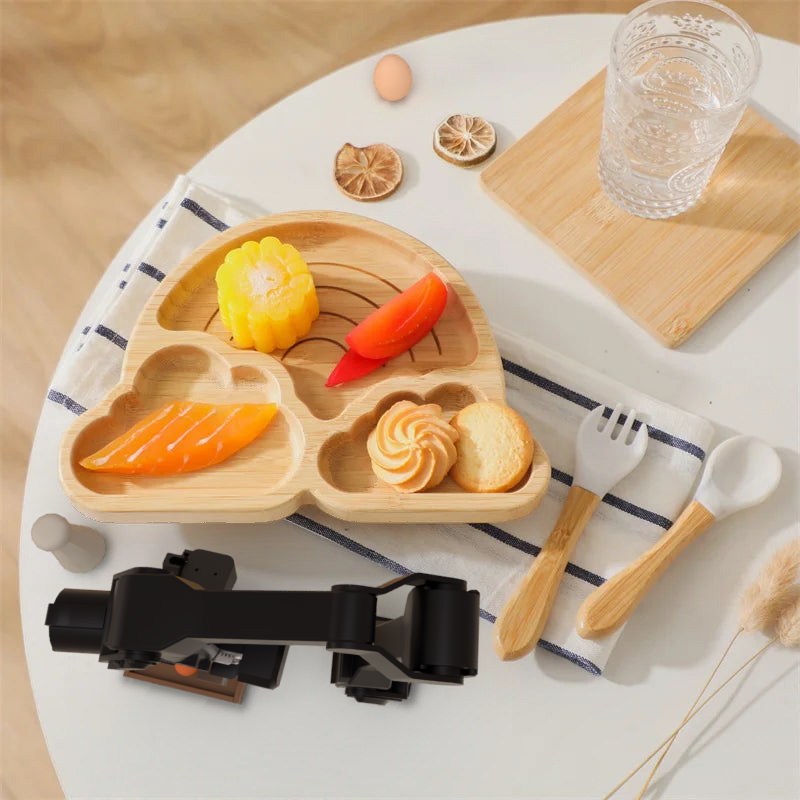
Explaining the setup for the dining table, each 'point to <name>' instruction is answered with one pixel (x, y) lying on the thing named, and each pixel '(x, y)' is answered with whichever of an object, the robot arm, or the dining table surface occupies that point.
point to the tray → (189, 682)
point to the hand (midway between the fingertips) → (215, 647)
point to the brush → (211, 677)
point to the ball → (185, 670)
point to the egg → (392, 77)
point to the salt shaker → (68, 542)
